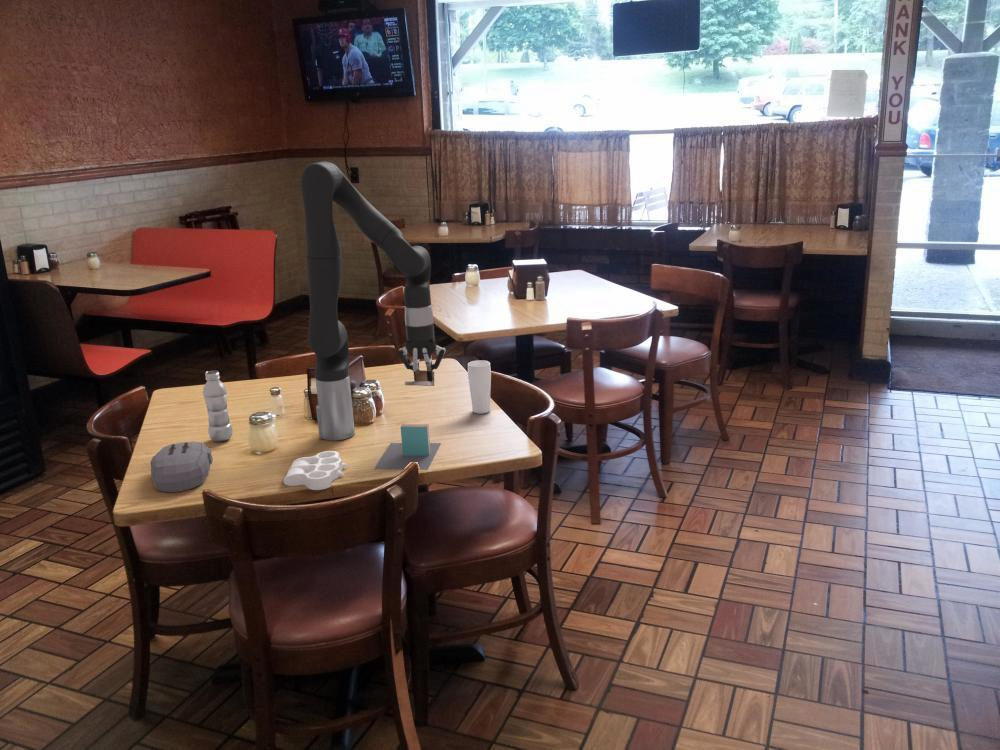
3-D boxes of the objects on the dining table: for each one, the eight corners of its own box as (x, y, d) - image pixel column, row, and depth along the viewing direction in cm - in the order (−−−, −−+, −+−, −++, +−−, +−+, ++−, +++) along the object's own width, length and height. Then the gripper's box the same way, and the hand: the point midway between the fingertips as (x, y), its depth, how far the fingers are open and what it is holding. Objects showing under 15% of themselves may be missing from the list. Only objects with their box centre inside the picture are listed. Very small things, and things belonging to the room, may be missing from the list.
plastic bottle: (223, 434, 255) (213, 367, 250) (238, 438, 252) (229, 371, 246) (204, 441, 250) (194, 373, 245) (220, 445, 247) (209, 377, 241)
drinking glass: (490, 415, 260) (487, 366, 256) (467, 415, 262) (464, 366, 257) (494, 408, 267) (492, 360, 262) (473, 407, 268) (470, 359, 264)
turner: (404, 385, 233) (404, 370, 233) (419, 385, 250) (419, 371, 250) (427, 385, 232) (427, 369, 232) (440, 385, 249) (440, 371, 249)
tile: (402, 455, 232) (400, 426, 230) (404, 452, 234) (402, 424, 232) (429, 455, 231) (426, 426, 229) (430, 452, 233) (428, 424, 231)
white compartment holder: (296, 464, 232) (352, 461, 232) (281, 493, 215) (341, 490, 215) (295, 452, 231) (351, 449, 231) (279, 480, 214) (340, 477, 214)
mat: (373, 470, 224) (373, 468, 224) (391, 444, 241) (390, 442, 241) (427, 471, 223) (427, 469, 222) (441, 444, 240) (441, 443, 239)
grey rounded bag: (157, 468, 233) (146, 499, 215) (151, 438, 231) (140, 467, 212) (216, 460, 236) (211, 490, 218) (212, 431, 234) (206, 459, 215)
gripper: (390, 325, 234) (396, 388, 239) (442, 324, 232) (446, 387, 237) (397, 319, 241) (402, 379, 246) (447, 318, 240) (451, 379, 245)
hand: (424, 383), depth 242 cm, fingers closed on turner, 2 cm apart
